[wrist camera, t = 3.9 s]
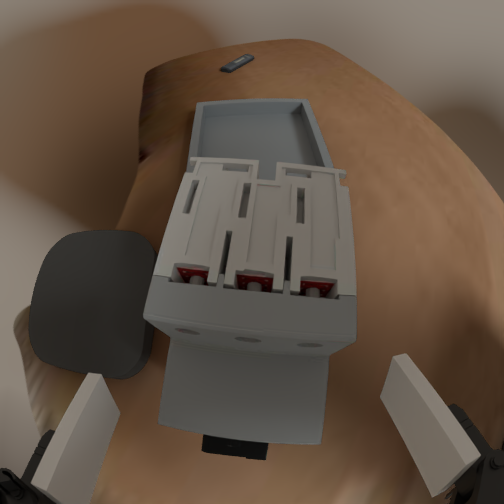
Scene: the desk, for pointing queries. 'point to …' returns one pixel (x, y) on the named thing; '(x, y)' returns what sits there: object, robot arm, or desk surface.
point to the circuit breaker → (253, 303)
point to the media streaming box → (94, 304)
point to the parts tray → (259, 134)
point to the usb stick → (237, 63)
